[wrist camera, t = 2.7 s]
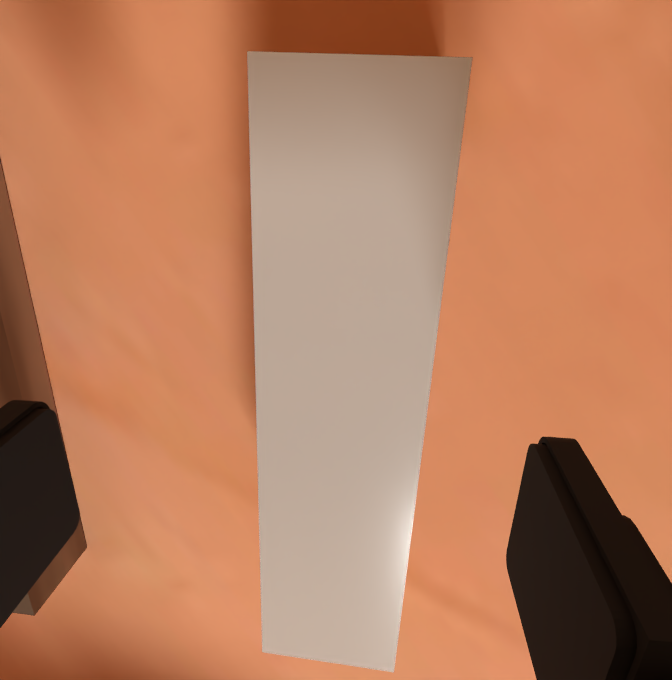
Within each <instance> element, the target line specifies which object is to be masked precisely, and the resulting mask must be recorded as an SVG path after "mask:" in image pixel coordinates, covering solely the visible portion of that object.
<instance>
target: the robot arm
mask: <svg viewBox="0 0 672 680" xmlns="http://www.w3.org/2000/svg"><path fill="white" fill-rule="evenodd" d="M79 519H80V512H79V508H78V503H77V499H76V495H75V491H74V487H73V482H72V478H71V474H70V470H69V465H68V461H67V457H66V453H65V448H64V444H63V440H62V436H61V432H60V427H59V423H58V419H57V415H56V413H55V412H54V411H53V410H51V409H50V408H49V406H48V405H47V404H46V403H44V402H42V401H28V400H12V401H10V402H8V403H6V404H5V405H4V406H2V407H1V408H0V628H1V627H2V625H3V624H4V623H5V621H6V620H7V619H8V617H9V616H10V615H11V614H12V612H13V611H14V610H15V608H16V607H17V606H18V605H19V603H20V602H21V601H22V599H23V598H24V597H25V595H26V594H27V593H28V592H29V590H30V589H31V588H32V586H33V585H34V584H35V582H36V581H37V580H38V579H39V577H40V576H41V575H42V573H43V572H44V571H45V570H46V568H47V567H48V566H49V564H50V563H51V562H52V560H53V559H54V558H55V557H56V555H57V554H58V553H59V551H60V550H61V549H62V548H63V546H64V545H65V544H66V542H67V541H68V540H69V538H70V537H71V536H72V535H73V533H74V532H75V530H76V528H77V526H78V523H79ZM506 562H507V570H508V574H509V578H510V582H511V585H512V589H513V593H514V597H515V600H516V604H517V608H518V611H519V615H520V619H521V623H522V626H523V630H524V634H525V637H526V641H527V645H528V649H529V652H530V656H531V660H532V664H533V667H534V671H535V675H536V678H537V680H672V583H671V582H670V580H669V578H668V577H667V575H666V574H665V572H664V570H663V569H662V567H661V566H660V564H659V562H658V561H657V559H656V557H655V556H654V554H653V553H652V551H651V549H650V548H649V546H648V545H647V543H646V541H645V540H644V538H643V537H642V535H641V533H640V532H639V530H638V528H637V527H636V525H635V524H634V523H633V522H632V520H631V519H630V518H628V517H626V516H624V515H621V513H620V511H619V510H618V508H617V506H616V505H615V503H614V501H613V500H612V498H611V496H610V495H609V493H608V491H607V490H606V488H605V486H604V485H603V483H602V481H601V480H600V478H599V476H598V475H597V473H596V471H595V470H594V468H593V466H592V465H591V463H590V461H589V460H588V458H587V456H586V455H585V453H584V451H583V450H582V448H581V446H580V445H579V443H578V442H577V441H576V440H575V439H570V438H556V437H542V438H541V439H540V441H539V443H538V444H530V446H529V448H528V452H527V456H526V461H525V466H524V471H523V476H522V480H521V485H520V490H519V495H518V499H517V504H516V509H515V514H514V519H513V523H512V528H511V533H510V538H509V542H508V547H507V554H506Z"/></svg>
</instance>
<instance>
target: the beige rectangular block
mask: <svg viewBox="0 0 672 680" xmlns="http://www.w3.org/2000/svg"><path fill="white" fill-rule="evenodd" d="M247 64H248V104H249V143H250V183H251V223H252V262H253V302H254V342H255V381H256V421H257V460H258V500H259V540H260V579H261V619H262V652H265V653H271V654H278V655H284V656H291V657H297V658H304V659H310V660H317V661H323V662H330V663H336V664H343V665H349V666H356V667H362V668H369V669H375V670H382V671H388V672H394V667H395V659H396V651H397V644H398V636H399V628H400V620H401V612H402V605H403V597H404V589H405V581H406V573H407V565H408V558H409V550H410V542H411V534H412V526H413V519H414V511H415V503H416V495H417V487H418V480H419V472H420V464H421V456H422V448H423V440H424V433H425V425H426V417H427V409H428V401H429V394H430V386H431V378H432V370H433V362H434V354H435V347H436V339H437V331H438V323H439V315H440V308H441V300H442V292H443V284H444V276H445V268H446V261H447V253H448V245H449V237H450V229H451V222H452V214H453V206H454V198H455V190H456V182H457V175H458V167H459V159H460V151H461V143H462V136H463V128H464V120H465V112H466V104H467V96H468V89H469V81H470V73H471V65H472V57H439V56H402V55H366V54H329V53H292V52H256V51H247Z"/></svg>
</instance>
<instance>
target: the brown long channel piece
mask: <svg viewBox="0 0 672 680" xmlns="http://www.w3.org/2000/svg"><path fill="white" fill-rule="evenodd" d="M12 400H28V401H42V402H44V403H46V404H47V405H48V406H49V408H50V409H51V410H53V411H54V412H55V413H56V415H57V412H56V407H55V403H54V398H53V394H52V390H51V385H50V381H49V376H48V372H47V367H46V363H45V358H44V354H43V349H42V345H41V340H40V336H39V331H38V327H37V322H36V318H35V314H34V309H33V305H32V300H31V296H30V291H29V287H28V282H27V278H26V273H25V269H24V264H23V260H22V255H21V251H20V247H19V242H18V238H17V233H16V229H15V224H14V220H13V215H12V211H11V206H10V202H9V197H8V193H7V188H6V184H5V180H4V175H3V171H2V166H1V162H0V408H1V407H2V406H4V405H5V404H6V403H8V402H10V401H12ZM57 419H58V416H57ZM58 423H59V421H58ZM59 427H60V425H59ZM60 432H61V430H60ZM61 436H62V434H61ZM62 440H63V439H62ZM63 444H64V443H63ZM65 453H66V452H65ZM86 548H87V546H86V541H85V537H84V532H83V528H82V524H81V519H79V523H78V526H77V528H76V530H75V532H74V533H73V535H72V536H71V537H70V538H69V540H68V541H67V542H66V544H65V545H64V546H63V548H62V549H61V550H60V551H59V553H58V554H57V555H56V557H55V558H54V559H53V560H52V562H51V563H50V564H49V566H48V567H47V568H46V570H45V571H44V572H43V573H42V575H41V576H40V577H39V579H38V580H37V581H36V582H35V584H34V585H33V586H32V588H31V589H30V590H29V592H28V593H27V594H26V595H25V597H24V598H23V599H22V601H21V602H20V603H19V605H18V606H17V607H16V608H15V610H14V611H13V613H20V614H27V615H34V616H35V614H36V613H37V612H38V610H39V609H40V608H41V606H42V605H43V604H44V603H45V601H46V600H47V599H48V597H49V596H50V595H51V593H52V592H53V591H54V590H55V588H56V587H57V586H58V584H59V583H60V582H61V580H62V579H63V578H64V577H65V575H66V574H67V573H68V571H69V570H70V569H71V568H72V566H73V565H74V564H75V562H76V561H77V560H78V558H79V557H80V556H81V555H82V553H83V552H84V551H85V549H86Z"/></svg>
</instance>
